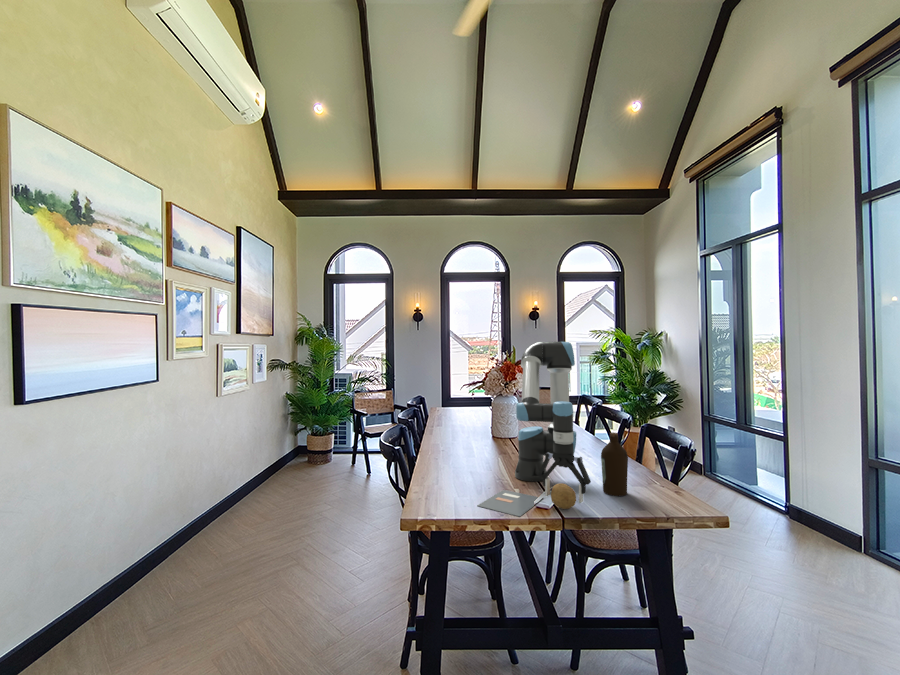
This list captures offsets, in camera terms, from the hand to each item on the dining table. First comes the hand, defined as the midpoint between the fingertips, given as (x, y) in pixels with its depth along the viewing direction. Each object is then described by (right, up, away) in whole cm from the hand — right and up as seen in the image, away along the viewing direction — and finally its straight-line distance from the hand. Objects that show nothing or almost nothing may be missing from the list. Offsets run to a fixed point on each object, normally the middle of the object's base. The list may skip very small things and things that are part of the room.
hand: (564, 498), depth 156 cm
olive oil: (+26, -4, +16) cm, 31 cm away
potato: (0, -3, 0) cm, 3 cm away
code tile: (-20, -4, +5) cm, 21 cm away
